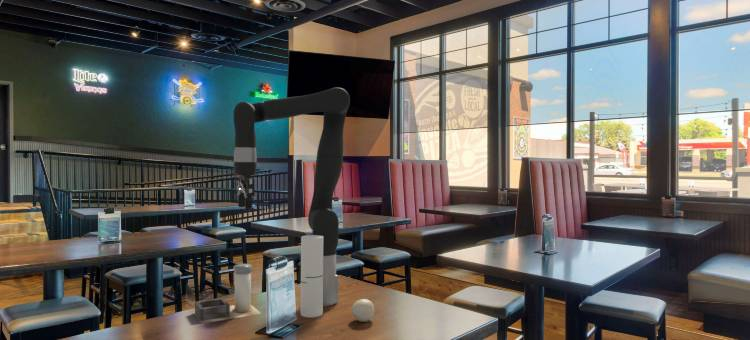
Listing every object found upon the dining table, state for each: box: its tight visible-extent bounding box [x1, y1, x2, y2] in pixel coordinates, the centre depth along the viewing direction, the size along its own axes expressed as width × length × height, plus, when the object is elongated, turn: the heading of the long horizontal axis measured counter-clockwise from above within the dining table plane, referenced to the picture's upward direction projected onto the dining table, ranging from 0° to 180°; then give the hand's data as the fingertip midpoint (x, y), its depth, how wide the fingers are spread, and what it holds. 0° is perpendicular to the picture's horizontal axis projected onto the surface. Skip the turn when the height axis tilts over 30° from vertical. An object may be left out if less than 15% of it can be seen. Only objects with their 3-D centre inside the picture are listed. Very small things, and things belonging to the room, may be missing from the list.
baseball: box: [350, 298, 375, 323], centre depth 143 cm, size 7×7×7 cm
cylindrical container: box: [300, 234, 324, 318], centre depth 149 cm, size 7×7×25 cm
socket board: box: [192, 297, 262, 325], centre depth 145 cm, size 18×13×5 cm
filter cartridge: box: [233, 263, 253, 312], centre depth 148 cm, size 5×5×14 cm
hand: (244, 208), depth 158 cm, fingers open, 8 cm apart
